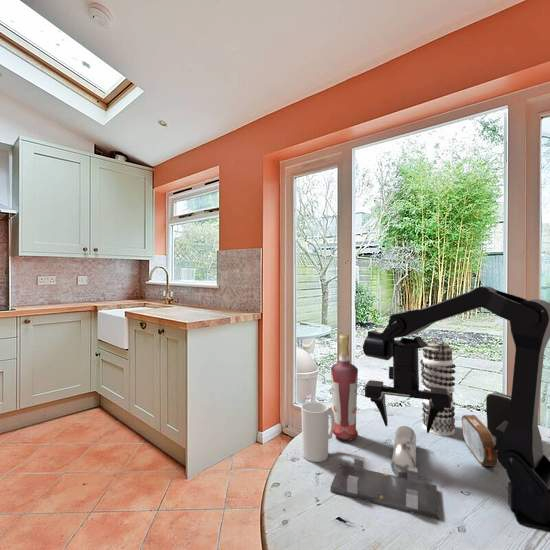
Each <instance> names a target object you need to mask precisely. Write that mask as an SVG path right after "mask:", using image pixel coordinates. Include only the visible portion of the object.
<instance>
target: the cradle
mask: <svg viewBox="0 0 550 550" xmlns="http://www.w3.org/2000/svg"><path fill="white" fill-rule="evenodd" d="M353 461H354V464H353V465H354V466H351V465H349V464H348V465H347V464H342V463H339V466H338V468H337V470H336V472H335V475H334V478H333V480H332V482H331V484H330V492H331V493H335V494H338V495H342V496H347V497H351V498H354V499H358V500H361V501H366V502H369V503H373V504H378V505H381V506H385V507H389V508H393V509H396V510H400V511H404V512H409V513H412V514H416V515H419V516H424V517H427V518H432V519H435V520H440V513H439V510H440V509H439V500H438V498H439V497H438V488H437V484H432V483H429V482H424V481H419V475H418V473H419V469H418V467H416V468H413V467H407V479H406V478H402V477H397V476H396V475H392V474H389V473H388V474H387V473H383V472H379V471H374V470H369V469H366V468H365V464H366V463H365V462H366V461H365V457H363V456H360V455H359V456H358V455H355V456H354V459H353Z"/></svg>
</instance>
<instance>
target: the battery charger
mask: <svg viewBox="0 0 550 550" xmlns="http://www.w3.org/2000/svg"><path fill="white" fill-rule="evenodd" d="M510 405H511V395H508V394H505V393H504V394H503V393H500V392H490V393H488V394H487V396H486V400H485V408H486V409H485V410H486V411H485V412H486V427H487V428H488V430H489V431H490V433H491V435H492V436H495V429H496V428H497V427H498V426H500V425H501V424H502V423H503V422H504V421H508V422H509V416H510Z"/></svg>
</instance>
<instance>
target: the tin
mask: <svg viewBox="0 0 550 550" xmlns="http://www.w3.org/2000/svg"><path fill="white" fill-rule="evenodd" d="M461 427H462V428H461V429H462V436H463V437H462V438H463V440H464V442H465V445H466V446H467V448H468V449H469V451H470V453H471V454H472V455H473V456H474V458H475V459H476V460H477V462H478V463H479V464H480V465H481V466H484V467H493V468H495V467H496V466H497V464H498V459H497V450H495V451H494V450H493V448H494V446H495V444H496V441H495V440H494V437H493V435H492V434H491V433H490V431H489V430H488V428H487V425H485V424H484V423H483V422H482V421H481V420H480V419H479V418H478V417H477V415H475V414H464V415H462V416H461Z"/></svg>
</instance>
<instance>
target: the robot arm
mask: <svg viewBox="0 0 550 550" xmlns="http://www.w3.org/2000/svg"><path fill="white" fill-rule="evenodd" d="M480 308H482V309H484V310H487V311H488V312H490V313H492V314H494V315H496V316H497V317H500V318H502V319H504V320H506V321H509V325H510V332H511V333H510V334H511V337H512V341H513V342H514V346H515V353H514V364H513V375H512V387H511V395H510V396H511V405H510V416H509V422H508V421H504V422H503V423H502V424H501V425H500V426H498V427H497V428H496V429H495V435H494V437H495V446H494V448H493V450H494V451H495V450H497V462H498V463H499V464H500V465H501V466H502V468H503V469H504V470H505V471H506V474H507V476H508V480H509V481H508V482H507V503H508V506H509V508H510V511H511V512H512V514H513V515H514V518H515V519H516V522H517V523H519V524H521V525H526V526H529V527H535V528H538V529H543V530H547V531H550V459H549V457H547V455H545V453H544V448H543V440H542V435H541V432H540V428H539V425H538V424H539V423H538V419H539V418H538V417H539V409H540V397H541V390H542V389H541V387H542V380H543V379H542V377H543V366H544V359H545V358H544V357H545V351H546V350H545V349H547V348H546V347H547V345H548V344H549V340H550V302H548V301H546V300H544V299H540V298H537V299H536V298H533V299H526V298H523V297H520V296H517V295H515V294H510V293H508V292H504V291H501V290H499V289H495V288H494V287H491V286H487V285H486V286H478V287H475V288H474V289H472V290H470V291H468V292H465V293H461V294H459V295H455V296H454V297H451V298H448V299H445V300H443V301H440V302H438V303H434V304H432V305H428V306H426V307H424V308H418V309H412V310H407V311H400V312H394V313H393V314H391V315H390V316H389V319H388V324H387V326H386V327H385V328H384V330H383V331H382V332H380V331H376V330H370V331H367V336H366V337H365V339H364V342H363V344H362V351H363V353H364V355H365V356H366V357H370V358H373V359H379V360H382V361H383V360H384V361H389V360H391V359H392V366H389V367H388V379H389V380H392V381H393V386H385V384H384V381H380V380H370V379H369V380H368V381H367V382H366V384H365V387H364V398H368V399H370V402H372V403H374V405H376V407H377V409H378V412H379V413H380V415H381V418H382V421H383V423H384V425H385V427H388V421H389V420H388V412H387V406H386V405H387V404H386V395H387V396H396V397H404V398H411V399H418V400H423V399H426V400H429V409H428V417H427V431H426V433H427V434H429V433H430V432H429V431H430V429H431V426H432V424H433V421H434V419H435V418H436V416H437V414H438V413H439V411H444V408H451V397H450V393H449V391H448V390H447V389H445V388H436V387H431V391H424V390H421V389H420V377H419V376H420V375H419V374H420V373H419V371H420V370H419V366H420V365H419V349H423V348H424V347H427V346H428V344H427V343H426V342H427V341H425V340H423V339H422V338H421V336H416V337H414V338H409V337H408V336H413V335H416V334H418V333H420V332H422V331H424V330H426V329H427V328H429V327H430V326H432V325H433V324H436V323H437V322H441V321H443V320H446V319H449V318H453V317H456V316H458V315H462V314H465V313H468V312H471V311H475V310H478V309H480ZM406 337H408V338H406ZM397 338H401V339H400V340H399V339H398V340H397Z"/></svg>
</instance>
